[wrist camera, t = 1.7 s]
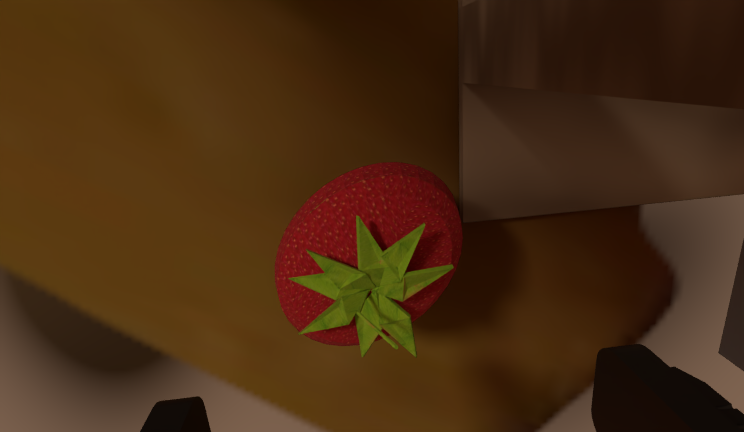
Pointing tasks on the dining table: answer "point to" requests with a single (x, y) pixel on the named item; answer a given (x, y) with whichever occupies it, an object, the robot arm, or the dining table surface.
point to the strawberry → (369, 255)
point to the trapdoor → (735, 320)
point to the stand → (598, 104)
